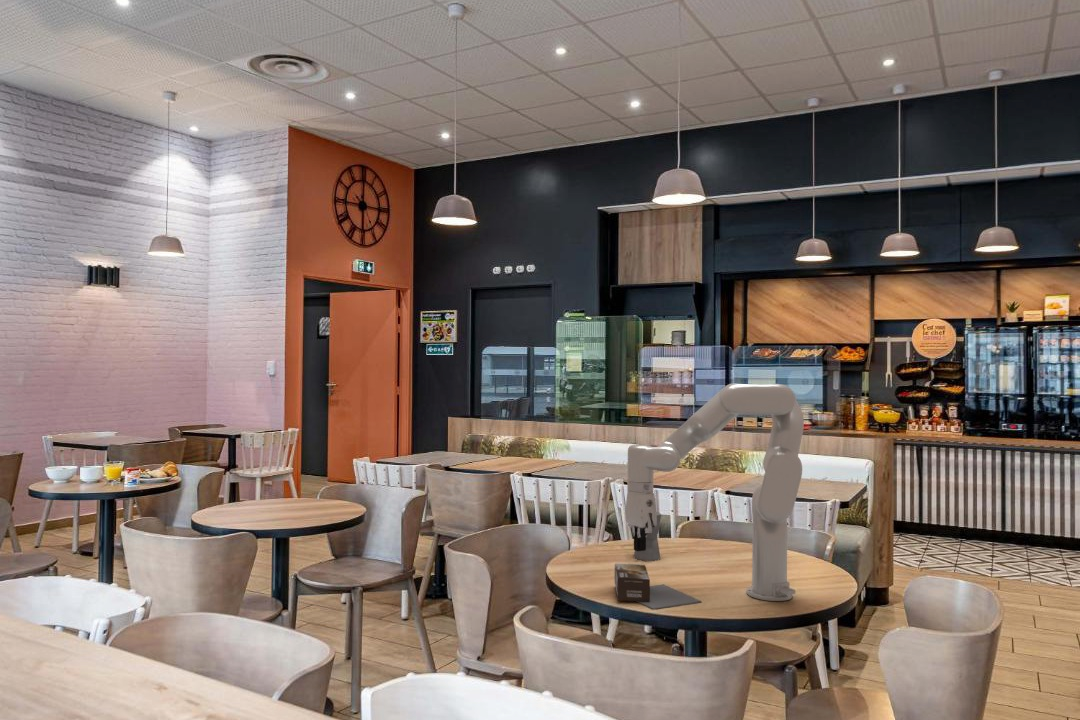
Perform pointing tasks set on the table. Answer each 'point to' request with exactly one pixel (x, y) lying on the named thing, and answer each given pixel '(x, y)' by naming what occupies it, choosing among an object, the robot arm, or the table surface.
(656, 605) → the mat
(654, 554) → the coffeepot
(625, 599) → the coffee box
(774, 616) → the table surface
